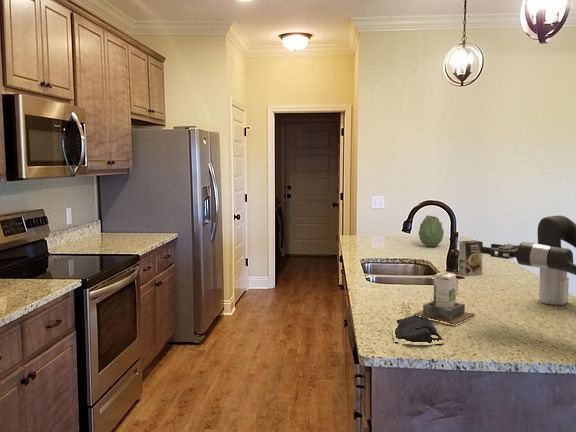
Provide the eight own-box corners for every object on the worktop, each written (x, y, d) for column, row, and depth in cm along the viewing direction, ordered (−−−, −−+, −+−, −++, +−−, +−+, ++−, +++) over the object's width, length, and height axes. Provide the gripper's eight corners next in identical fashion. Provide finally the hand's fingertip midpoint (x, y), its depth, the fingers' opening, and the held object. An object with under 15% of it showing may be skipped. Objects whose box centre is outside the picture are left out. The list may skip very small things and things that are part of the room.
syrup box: (439, 310, 180) (440, 271, 178) (455, 313, 176) (456, 273, 174) (433, 314, 175) (433, 274, 174) (449, 317, 172) (449, 276, 170)
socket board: (474, 316, 175) (474, 304, 174) (455, 326, 165) (455, 313, 165) (433, 308, 186) (433, 296, 186) (413, 316, 177) (413, 304, 176)
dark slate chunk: (435, 324, 169) (435, 310, 169) (445, 348, 148) (445, 333, 147) (390, 323, 172) (389, 310, 171) (393, 346, 150) (392, 331, 150)
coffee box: (466, 276, 235) (466, 242, 233) (458, 273, 241) (458, 241, 239) (482, 274, 237) (483, 241, 235) (474, 271, 243) (474, 239, 242)
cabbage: (420, 249, 309) (420, 217, 307) (416, 244, 327) (416, 214, 325) (446, 249, 307) (446, 217, 305) (441, 244, 325) (441, 214, 323)
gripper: (526, 270, 155) (476, 261, 166) (542, 263, 165) (494, 255, 176) (527, 246, 154) (477, 239, 165) (544, 241, 164) (495, 235, 175)
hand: (486, 248), depth 171 cm, fingers open, 8 cm apart
